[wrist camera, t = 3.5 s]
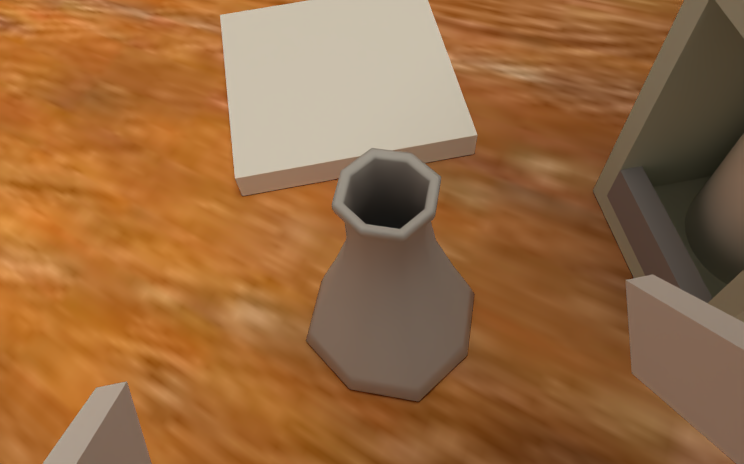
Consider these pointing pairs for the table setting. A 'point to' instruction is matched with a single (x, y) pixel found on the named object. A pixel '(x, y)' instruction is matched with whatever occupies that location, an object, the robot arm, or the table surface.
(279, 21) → the plate
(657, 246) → the dispenser box
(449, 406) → the table surface
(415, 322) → the flask
